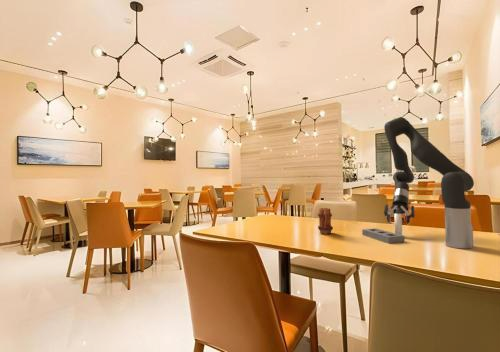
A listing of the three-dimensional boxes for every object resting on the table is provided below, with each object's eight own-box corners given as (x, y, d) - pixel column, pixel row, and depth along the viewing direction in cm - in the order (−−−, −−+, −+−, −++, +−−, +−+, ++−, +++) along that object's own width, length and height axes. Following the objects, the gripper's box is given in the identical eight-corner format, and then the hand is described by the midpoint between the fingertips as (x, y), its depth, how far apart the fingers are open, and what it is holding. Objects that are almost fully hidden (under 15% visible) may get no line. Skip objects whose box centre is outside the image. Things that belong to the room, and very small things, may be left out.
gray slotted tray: (376, 233, 150) (376, 228, 150) (404, 241, 131) (404, 235, 131) (362, 234, 148) (362, 229, 148) (388, 243, 129) (388, 237, 129)
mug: (317, 231, 160) (316, 206, 160) (331, 231, 159) (330, 206, 159) (320, 237, 146) (319, 209, 146) (335, 237, 144) (335, 209, 145)
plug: (399, 235, 144) (398, 207, 144) (403, 237, 141) (403, 208, 141) (393, 236, 143) (392, 208, 143) (398, 237, 140) (397, 208, 140)
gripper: (385, 193, 153) (381, 216, 143) (414, 194, 144) (412, 218, 135) (387, 202, 157) (384, 225, 148) (416, 203, 148) (414, 227, 139)
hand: (397, 222), depth 141 cm, fingers open, 8 cm apart
